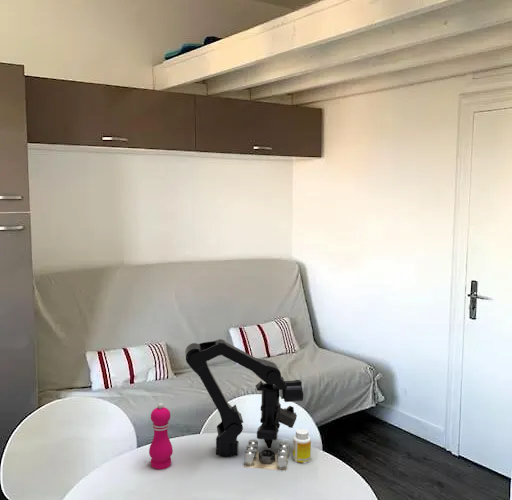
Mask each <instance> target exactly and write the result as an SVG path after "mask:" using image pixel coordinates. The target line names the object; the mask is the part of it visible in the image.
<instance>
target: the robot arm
mask: <svg viewBox="0 0 512 500" xmlns="http://www.w3.org/2000/svg"><path fill="white" fill-rule="evenodd" d="M184 354H185V361H186V363H187V365H189V367H190V368H191V370H192V371H193V372H194V373H195V374H196V375H197V376H198V377H199V379H200V380H201V382H202V385H203V386H204V387H205V389H206V391H207V393H208V395H209V397H210V399H211V400H212V401H213V403H214V405H215V407H216V409H217V411H218V414H219V416H220V419H221V422H220V423H218V425H217V426H216V432H217V436H216V438H215V441H216V442H215V455H217V456H219V457H223V458H231V457H237V456H238V455H239V453H240V452H239V445H240V443H239V440H238V436H239V435H240V434H241V433H242V432H243V429H244V425H243V423H244V420H243V415H242V413H241V412H240V411H239V410H238V407H237V405H236V404H234V405H233V406H232V405H231V404H230V403H229V402H228V400H227V398H226V396H225V395H224V393H223V391H222V389H221V388H220V386H219V385H220V384H219V383H218V382H217V380H216V378H215V376H214V375H213V373H212V371H211V368H209V364H208V361H211V360H213V359H214V358H216V357H219V356H222V357H225V358H227V359H228V360H230V361H233V362H234V363H236V364H238V365H240V366H242V367H244V368H245V369H247V370H250V371H251V372H252V373H254V374H255V375H256V376H257V377H258V378H260V381H259V382H258V383H257V384H255V389H256V391H257V392H258V391H259V392H260V391H261V403H260V411H261V412H260V413H261V414H260V415H261V417H260V419H259V420H260V421H259V422H260V424H261V425H260V426H258V428H257V431H256V439H258V440H264V443H265V445H266V448H267V449H268V450H272V446H273V441H276V440H277V439H278V435H279V431H280V426H281V425H282V424H283V425H284V426H287V427H288V428H290V429H291V428H294V425H295V423H296V421H297V416H298V415H297V412H295V408H294V406H291V405H289V406H287V407H286V408H285V407H284V408H282V407H281V406H282V405H281V403H280V399H281V400H283V401H284V403H294V402H295V403H296V402H303V401H304V392H303V385H302V381H301V380H300V379H295V380H285V379H284V377H283V376H282V373H281V371H280V368H279V367H278V365H277V363H275V362H273V361H270V360H267V359H261V358H257V357H256V356H255V357H254V356H253V355H251V354H250V353H247V352H245V351H244V350H241V349H239V347H236V346H234V345H233V344H230V343H229V342H227V341H226V340H224V339H222V338H220V339H216V340H213V341H212V340H211V341H204V342H202V343H190V344H188V346H186V349H185V351H184Z"/></svg>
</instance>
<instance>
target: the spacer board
mask: <svg viewBox="0 0 512 500" xmlns="http://www.w3.org/2000/svg"><path fill="white" fill-rule="evenodd" d="M259 452H260V451H258V454H257V455H256V460H255V464H254V466H246V465H245V464H244V465H243V467H244V468H251V469H252V468H253V469H261V470H262V469H264V470H273V471H274V470H276V471H280V470H279V469H277V454H278V453H275V462H273V463H272V464H270V465H269V464H262V463H261V462H260V461H259ZM284 471H285V472H286V471H287V468H286V469H285V470H284Z"/></svg>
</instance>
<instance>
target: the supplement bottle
mask: <svg viewBox="0 0 512 500" xmlns="http://www.w3.org/2000/svg"><path fill="white" fill-rule="evenodd" d="M311 438H312V437H310V436H309V430H308V429H306V428H298V429H296V430H295V435H294V436H293V438H292V461H294V462H295V463H297V464H307V463H309V462H311V451H312V449H311V447H312V446H311V444H312V439H311Z"/></svg>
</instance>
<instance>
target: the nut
mask: <svg viewBox="0 0 512 500" xmlns="http://www.w3.org/2000/svg"><path fill="white" fill-rule="evenodd" d="M258 452H259V461H260V462H261V463H262V464H269V465H270V464H272V463H273V462H275V454H276V453H275V452H274V451H273V450H272V449H262V450H261V451H258Z"/></svg>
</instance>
